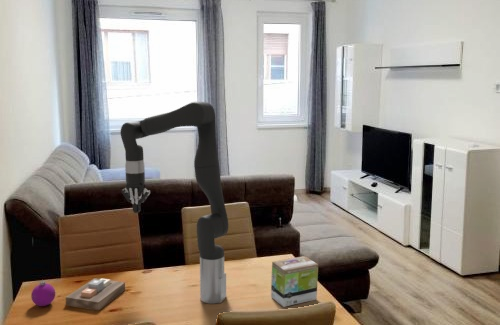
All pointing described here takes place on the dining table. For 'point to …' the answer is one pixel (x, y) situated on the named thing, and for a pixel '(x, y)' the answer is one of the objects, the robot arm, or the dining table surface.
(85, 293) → the key terracotta
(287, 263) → the tea box
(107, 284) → the key ivory
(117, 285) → the keypad board
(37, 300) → the christmas ornament
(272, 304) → the dining table surface
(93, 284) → the key slate
